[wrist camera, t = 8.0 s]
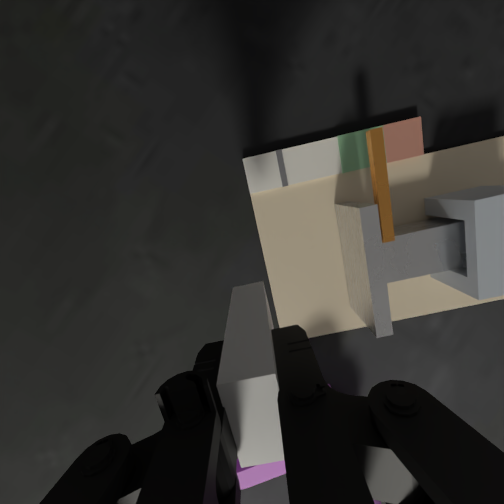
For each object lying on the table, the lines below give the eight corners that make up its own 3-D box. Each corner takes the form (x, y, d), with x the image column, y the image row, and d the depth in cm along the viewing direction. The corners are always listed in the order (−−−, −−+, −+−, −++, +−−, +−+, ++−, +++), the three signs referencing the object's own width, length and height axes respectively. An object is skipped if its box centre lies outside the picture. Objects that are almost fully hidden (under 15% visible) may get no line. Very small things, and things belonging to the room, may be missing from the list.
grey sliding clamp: (325, 146, 19) (348, 131, 14) (528, 98, 18) (621, 67, 13) (350, 306, 21) (376, 337, 17) (528, 269, 20) (606, 292, 16)
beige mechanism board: (242, 159, 19) (239, 149, 14) (535, 90, 18) (633, 56, 14) (282, 341, 22) (290, 381, 18) (534, 290, 21) (614, 318, 17)
